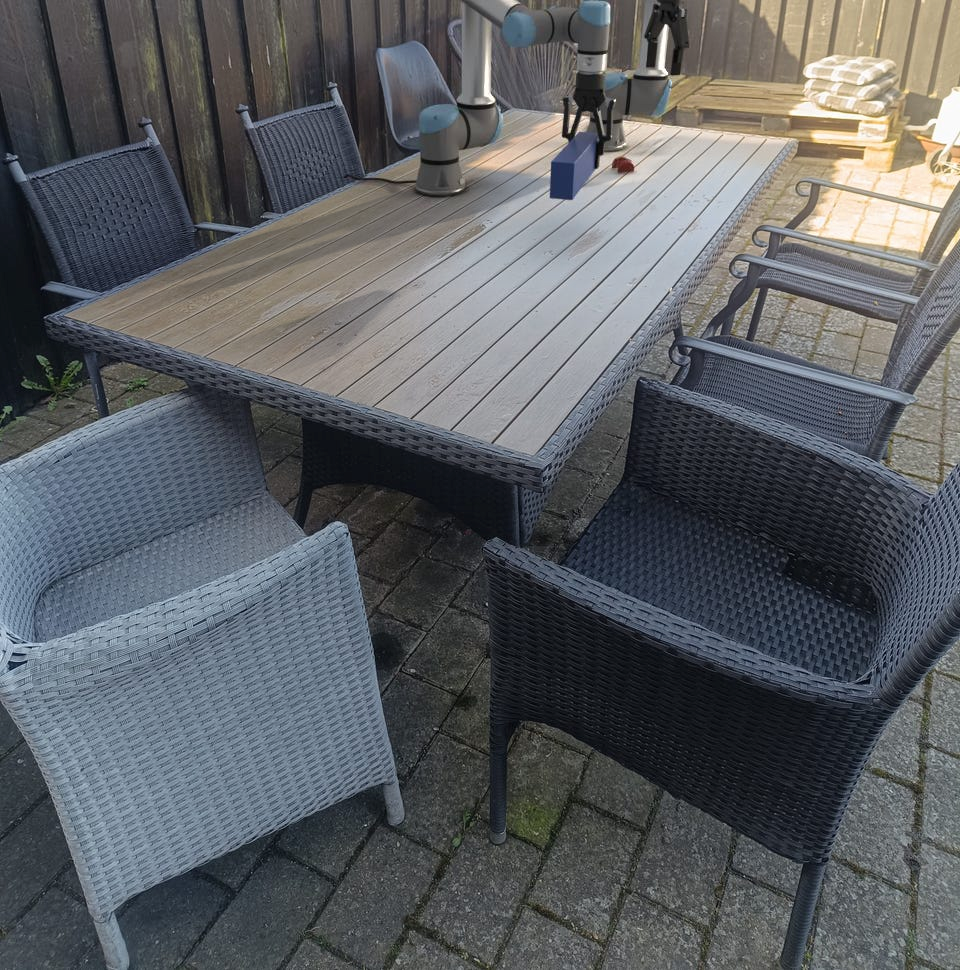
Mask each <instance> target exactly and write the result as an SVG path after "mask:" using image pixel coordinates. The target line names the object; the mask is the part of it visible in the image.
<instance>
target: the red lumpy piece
mask: <svg viewBox="0 0 960 970" xmlns="http://www.w3.org/2000/svg"><path fill="white" fill-rule="evenodd" d="M611 169H616V172H617V174H620V173H621V174H622V173H634V172H635V165H634V163H633V160H631V159H630V158H627V157H626V156H617V157H615V158H613V160H612V163H611Z"/></svg>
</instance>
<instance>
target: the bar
mask: <svg viewBox="0 0 960 970" xmlns="http://www.w3.org/2000/svg"><path fill="white" fill-rule="evenodd" d="M598 141H599V138H598V133H592V132H586V131H578V133H576V135H575V137H574V138H573V139H572V140H571V141H570V142H569V143H567V144H566V145H565V146H564V147H563V148H562V149H561V151H559V153H558V154H556V156H554V158H553V159H552V160H551V162H550V179H549V180H550V181H549V199H552V200H553V199H554V200H564V201H565V200H566V201H573V200H574V198H575V197H576V196H578V193H579V192H580V191H581V190H582V188H583V187H584V185H585V184H587V181H588V180H589V179H590V178H591V176H592V175H593V173H594V172H595V171H596V170H597V169H594V168H595V154H596V143H597V142H598Z"/></svg>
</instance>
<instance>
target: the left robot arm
mask: <svg viewBox="0 0 960 970" xmlns="http://www.w3.org/2000/svg"><path fill="white" fill-rule="evenodd" d="M460 2H461V94H460V95H458V97H457V98H456V105H455V104H453V103H452V104H451V103H442V104H434V105H431V106H428V107H426V108H424V109H422V110H421V111H420V113H419V116H418V126H417V127H418V132H419V133H418V134H419V135H418V136H419V157H420V158H419V159H420V161H419V162H420V164H419V168H418V172H417V176H416V179H415V180H414V179H413V180H392V179H388V178H382V177H359V176H355V175H353V174H350V173H347V174H345V175H344V176H343V177H342V179H346V178H351V179H354V180H356V181H378V182H379V181H380V182H386V183H390V184H396V185H397V184H398V185H402V184H415V185H414V186H415V192H417V193H418V194H420V195H424V196H430V197H450V196H455V195H459V194H461V193H463V192H464V191H466V177H465V176H463V172H462V169H461V165H460V151H464V150H469V149H476V148H483V147H486V146H489V145H492V144H494V143H495V142H497V140H499V138H500V136H501V134H502V131H503V126H504V117H503V113H501V112H502V111H501V108H500V107H499V105H497V104H496V98H495V97H494V96H493V95H492V94H491V88H492V87H491V85H492V84H491V81H492V80H491V78H492V77H491V76H492V32H493V31H492V29H493V27H492V25H494V26H496V27H497V28H498V29H500V30H501V31H502V36H503V39H505V43H506V44H507V45H508V46H510V47H512V48H527V47H532V46H538V45H547V44H553V43H554V44H555V43H562V42H563V43H564V42H565V43H566V42H567V43H575V44H577V53H576V70H577V72H576V73H575V85H574V86H575V87H574V92H573V94H571V95H565V96H564V97H562V104H563V107H564V108H563V117H562V118H563V119H562V128H561V138H563V139H566V140H567V142H568V143H569V142H570V141H571V140H572V139H573V138H574V137H575V136H576V135H577V131H578V128H579V126H580V123H581V120H582V116H583V114H584V112H588V113H590V112H593V115H594V118H595V123H596V128H597V133H598V138H599V141H598V142H597V143H596V154H595V168H594V169H596V170H598V169H599V168H600V161H601V156H603V155H604V154H605V151H604V148H605V142H606V141H610V140H611V139H612V136H613V108H614V105H615V103H616V99H615V98H613V99H611V98H608V97H606V94H605V80H606V74H607V73H605V71H607V65H608V54H609V53H608V52H609V51H608V50H609V49H608V48H609V38H610V27H611V26H610V25H611V5H610V3H609V2H608V1H606V0H605V1H604V0H584V1H581V3H580V4H579V8H574V7H570V6H569V7H568V6H565V5H553V6H551V7H549V8H548V9H547V8H546V9H537V10H535V9H534V10H533V9H530V8H529V7H528V6H526V5H524V4H523V3H522V2H520V1H518V0H460ZM573 101H574V102H573ZM604 101H605V102H606V107H608V109H607V129H606V136H605V133H604V128H603V123H602V118H601V111H600V106H601V105H602V104H603V102H604ZM573 103H575V104H576V106H577V110H576V112H575V116H574V120H573V122H572V125H571V129H570V121H571V120H570V119H571V109H572V104H573ZM569 130H570V131H569ZM568 143H567V144H568Z"/></svg>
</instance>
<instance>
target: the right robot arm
mask: <svg viewBox="0 0 960 970" xmlns="http://www.w3.org/2000/svg"><path fill="white" fill-rule="evenodd" d="M684 2H685V0H644V8H643V9H644V10H643V18H642V19H643V20H642V28H641V30H642V31H641V39H640V40H641V41H640V51H639V61H638V68H637V69H636V70H635V71H633V77H632V78H628V74H627V73H624V72H613V73H605V74H606V80H605V94H606V97H608V98H611V99H613V98H615V99H616V103H615V105H614V108H613V136H612V139H611V140H610V141H606V142H605V148H604V152H617V151H622V150H624V149H626V147H627V139H626V134H625V129H624V124H623V122H624V116H630V117H631V116H632V117H633V116H635V117H636V116H637V117H651V118H652V117H660V116H662V115H664V114H665V112H666V110H667V107H668V104H669V100H670V95H671V90H672V84H673V83H672V79H670V78H669V76H671V77H673V76H681V70H682V64H683V58H684V51H685V50H686V49H689V48H690V38H689V28H688V19H687V17H688V9H687V8H681V4H683V3H684ZM669 29H670V33H671V37H672V41H673V45H674V47H673V48H672V49H673V50H672V58H671V67H670V75H669V72H668V71H667V69H666V68H665V65H666V57H667V48H668V39H669ZM607 109H608V107H606V102H605V101H604V102H603V104H602V105H601V106H600V111H601V118H602V123H603V128H604V133H605V136H606V129H607ZM585 132H592V133H597V128H596V123H595V118H594V115H593V112H589V122H588V126H587V128H586V131H585Z"/></svg>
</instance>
